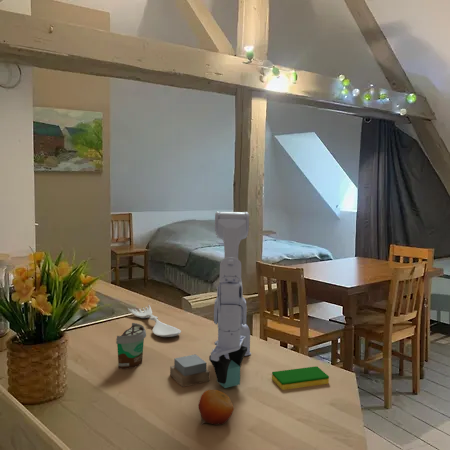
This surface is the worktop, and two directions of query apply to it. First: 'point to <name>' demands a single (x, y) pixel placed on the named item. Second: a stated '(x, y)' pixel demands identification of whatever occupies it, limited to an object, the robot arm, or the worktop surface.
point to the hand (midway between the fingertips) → (228, 377)
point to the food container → (131, 347)
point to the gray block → (190, 365)
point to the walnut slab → (189, 377)
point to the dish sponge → (300, 377)
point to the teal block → (232, 375)
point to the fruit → (215, 407)
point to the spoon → (159, 327)
